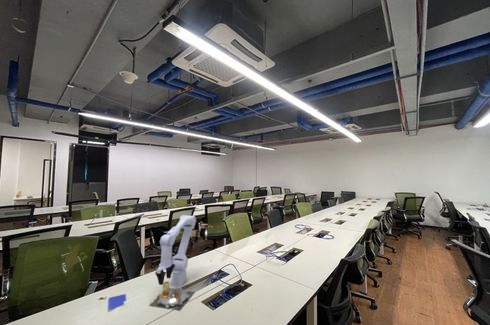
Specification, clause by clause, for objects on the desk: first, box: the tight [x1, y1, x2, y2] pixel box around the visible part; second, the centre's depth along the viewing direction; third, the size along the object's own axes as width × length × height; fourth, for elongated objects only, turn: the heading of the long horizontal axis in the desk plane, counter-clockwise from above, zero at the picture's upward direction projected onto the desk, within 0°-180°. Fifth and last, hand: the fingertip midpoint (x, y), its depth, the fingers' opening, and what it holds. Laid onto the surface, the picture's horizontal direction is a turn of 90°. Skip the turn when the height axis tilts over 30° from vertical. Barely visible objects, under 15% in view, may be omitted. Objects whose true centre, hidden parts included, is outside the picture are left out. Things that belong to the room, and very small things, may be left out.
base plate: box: [148, 287, 196, 312], centre depth 112 cm, size 18×18×1 cm
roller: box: [162, 281, 170, 296], centre depth 113 cm, size 3×3×6 cm
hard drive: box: [107, 293, 127, 313], centre depth 108 cm, size 2×8×12 cm
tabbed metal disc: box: [156, 286, 191, 308], centre depth 112 cm, size 18×18×5 cm
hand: (164, 281), depth 114 cm, fingers open, 7 cm apart
